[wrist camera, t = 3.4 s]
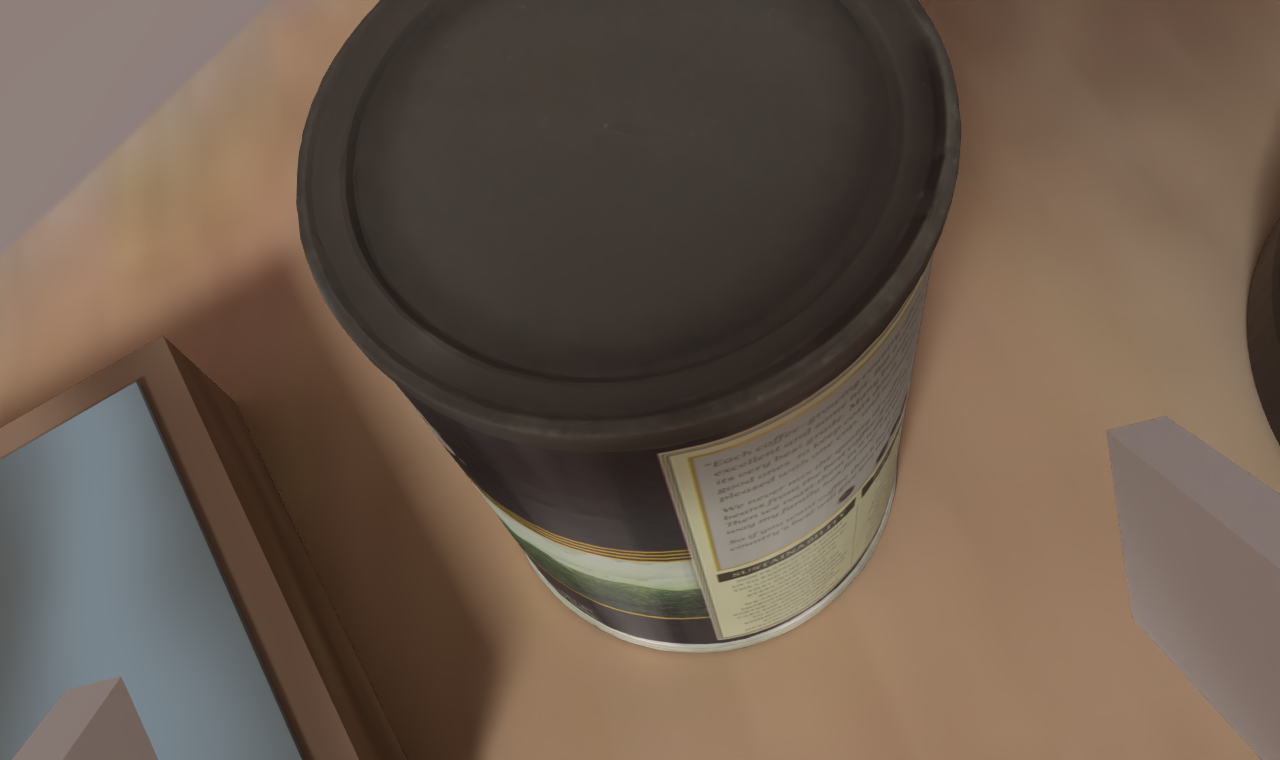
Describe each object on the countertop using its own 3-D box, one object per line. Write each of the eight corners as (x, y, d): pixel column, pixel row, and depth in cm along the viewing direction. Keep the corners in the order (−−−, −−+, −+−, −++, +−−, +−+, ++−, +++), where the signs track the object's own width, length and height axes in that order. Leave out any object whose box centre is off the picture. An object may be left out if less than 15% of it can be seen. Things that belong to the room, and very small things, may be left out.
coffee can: (515, 683, 29) (276, 482, 16) (499, 317, 33) (303, -63, 21) (939, 631, 28) (1039, 373, 15) (863, 262, 32) (891, -170, 20)
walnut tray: (233, 400, 33) (158, 331, 29) (451, 853, 27) (393, 838, 23) (-229, 670, 32) (-370, 633, 28) (-106, 1216, 25) (-266, 1263, 22)
